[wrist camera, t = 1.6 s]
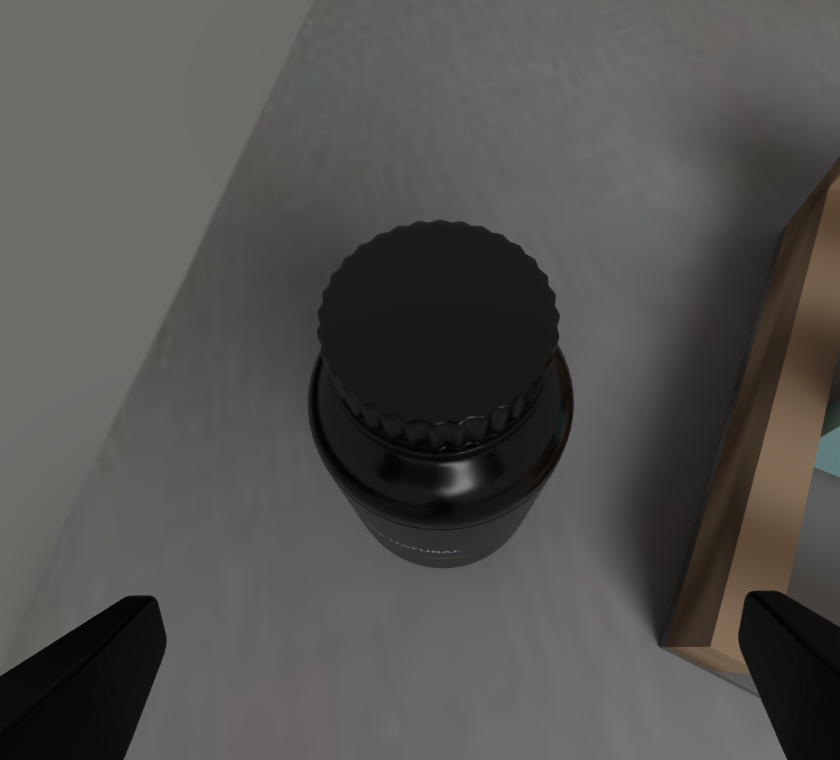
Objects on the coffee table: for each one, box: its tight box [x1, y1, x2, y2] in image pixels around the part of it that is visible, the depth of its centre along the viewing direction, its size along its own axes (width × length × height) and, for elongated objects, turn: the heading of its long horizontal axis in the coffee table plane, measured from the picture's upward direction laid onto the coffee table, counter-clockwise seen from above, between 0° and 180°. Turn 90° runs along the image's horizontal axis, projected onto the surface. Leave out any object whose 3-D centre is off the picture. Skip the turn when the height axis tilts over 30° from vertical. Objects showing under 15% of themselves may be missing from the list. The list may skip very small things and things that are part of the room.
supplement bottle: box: [308, 220, 574, 568], centre depth 16 cm, size 7×7×12 cm
